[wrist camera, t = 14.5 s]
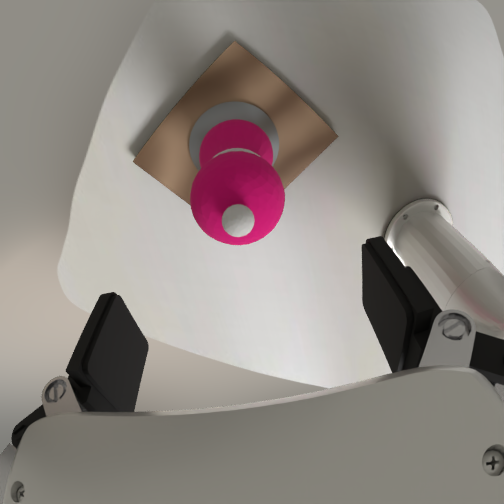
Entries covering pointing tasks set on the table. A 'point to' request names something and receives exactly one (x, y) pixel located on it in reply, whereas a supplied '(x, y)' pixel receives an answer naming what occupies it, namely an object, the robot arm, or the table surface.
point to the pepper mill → (237, 184)
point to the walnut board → (228, 108)
